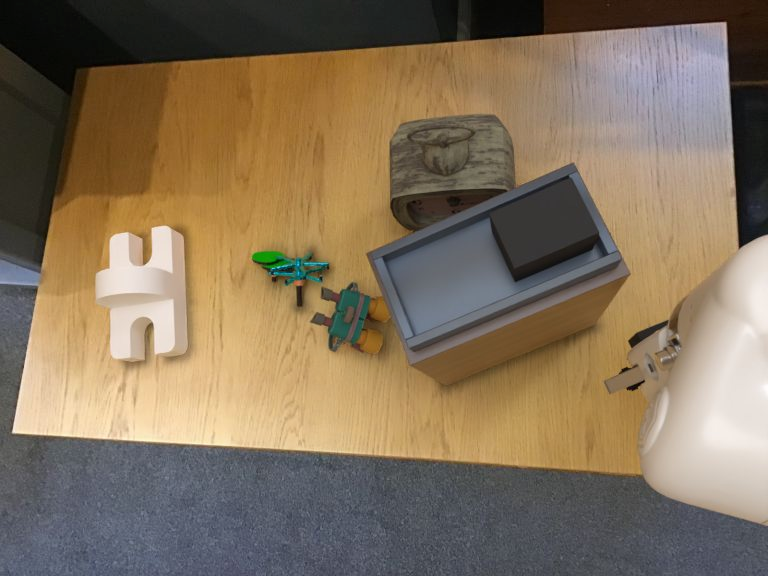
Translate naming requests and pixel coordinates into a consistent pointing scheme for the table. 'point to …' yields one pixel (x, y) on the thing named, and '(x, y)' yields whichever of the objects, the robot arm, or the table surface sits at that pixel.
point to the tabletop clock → (448, 167)
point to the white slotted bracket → (145, 294)
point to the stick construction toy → (280, 263)
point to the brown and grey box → (489, 289)
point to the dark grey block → (543, 229)
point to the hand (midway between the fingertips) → (671, 364)
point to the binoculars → (353, 319)
